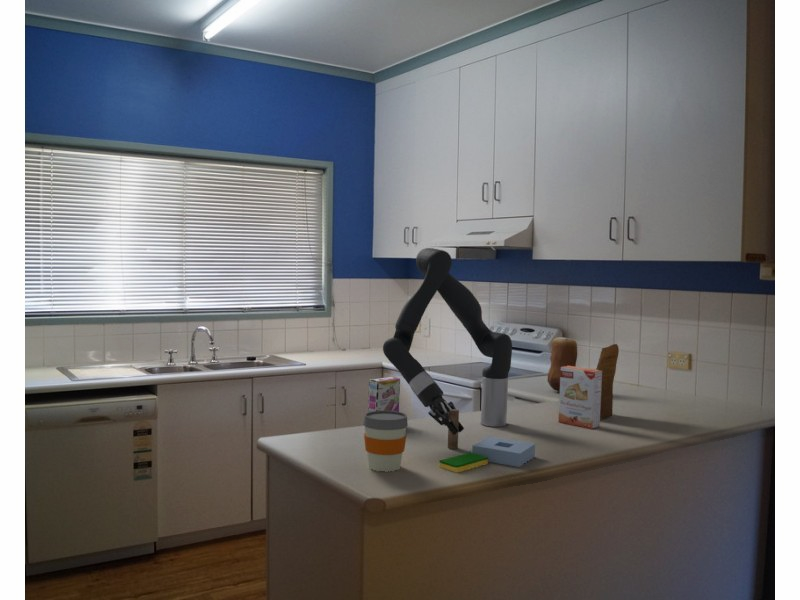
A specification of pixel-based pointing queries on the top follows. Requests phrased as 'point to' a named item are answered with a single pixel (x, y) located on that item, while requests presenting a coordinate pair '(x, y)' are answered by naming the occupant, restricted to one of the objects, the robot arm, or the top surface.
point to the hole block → (505, 451)
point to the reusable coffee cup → (385, 439)
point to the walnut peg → (451, 438)
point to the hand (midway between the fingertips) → (459, 431)
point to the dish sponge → (463, 462)
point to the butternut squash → (561, 359)
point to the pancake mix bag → (607, 378)
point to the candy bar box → (384, 394)
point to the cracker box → (580, 396)
